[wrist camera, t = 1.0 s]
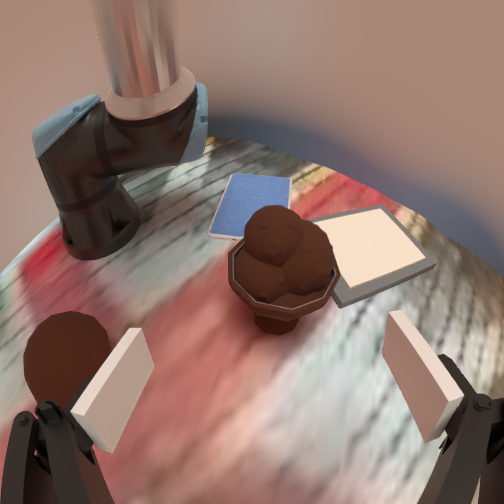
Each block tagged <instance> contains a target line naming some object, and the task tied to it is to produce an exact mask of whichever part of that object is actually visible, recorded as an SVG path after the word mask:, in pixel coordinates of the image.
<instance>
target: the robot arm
mask: <svg viewBox="0 0 504 504" xmlns="http://www.w3.org/2000/svg"><path fill="white" fill-rule="evenodd" d="M89 1H90V6H91V11H92V15H93V19H94V23H95V27H96V32H97V35H98V40H99V43H100V47H101V51H102V54H103V58H104V62H105V65H106V69H107V72H108V75H109V78H110V82H111V85H112V87H111V88H110V89H109V91H108V93H107V95H106V98H105V101H104V102H100V101H101V98H100V97H99V95H98V94H92V95H90V96H86V97H84V98H81V99H80V100H77V101H75V102H73V103H71V104H69V105H67V106H66V107H64V108H62V109H60V110H59V111H57V112H56V113H54V114H52V115H51V116H50V117H48V118H47V119H45V120H44V121H43V122H41V123H40V124H39V125H38V126H37V127H36V128H35V130H34V132H33V135H32V140H33V144H34V149H35V152H36V159H38V162H39V164H40V167H41V170H42V172H43V175H44V177H45V180H46V182H47V185H48V187H49V190H50V192H51V194H52V196H53V199H54V201H55V203H56V206H57V208H58V210H59V217H60V225H61V232H62V238H63V242H64V244H65V246H66V248H67V249H68V251H69V253H70V254H71V255H72V256H74V257H76V258H78V259H84V260H90V259H96V258H100V257H103V256H106V255H108V254H110V253H112V252H114V251H116V250H118V249H119V248H120V247H122V246H123V245H124V244H126V243H127V242H128V241H129V240H130V239H131V238H132V236H133V235H134V234H135V232H136V231H137V229H138V226H139V223H140V215H139V212H138V208H137V205H136V203H135V202H134V200H133V199H132V198H131V196H130V195H129V194H128V192H127V191H126V190H125V188H124V187H123V186H122V184H121V183H120V182H119V179H118V176H117V175H122V174H127V173H132V172H138V171H143V170H149V169H155V168H161V167H168V166H178V165H180V164H181V163H186V162H191V161H195V160H197V159H199V158H200V157H201V156H202V154H203V152H204V150H205V146H206V139H207V126H208V123H207V115H208V98H207V91H206V87H205V86H204V85H203V84H201V83H196V82H195V78H194V76H193V74H192V73H191V72H190V71H189V70H188V69H186V68H184V67H182V65H181V53H180V38H179V23H178V22H179V20H178V0H89ZM382 355H383V357H384V359H385V361H386V362H387V364H388V366H389V368H390V370H391V372H392V374H393V376H394V378H395V380H396V382H397V384H398V386H399V388H400V390H401V392H402V394H403V396H404V398H405V400H406V403H407V405H408V407H409V409H410V411H411V413H412V415H413V417H414V420H415V422H416V424H417V426H418V428H419V431H420V433H421V435H422V438H423V440H424V442H425V443H426V442H429V441H431V440H434V439H437V438H439V437H440V436H441V434H442V433H443V431H444V430H445V431H446V433H447V436H446V438H445V439H444V441H443V442H442V444H441V445H440V447H439V449H441V448H442V449H441V452H440V454H439V457H438V460H437V462H436V465H435V467H434V469H433V472H432V474H431V476H430V479H429V481H428V483H427V485H426V487H425V489H424V491H423V493H422V495H421V497H420V499H419V501H418V503H417V504H471V502H472V499H473V496H474V493H475V490H476V487H477V484H478V481H479V478H480V489H479V498H478V504H504V398H500V399H494V400H492V399H491V398H490V397H489V396H488V395H485V394H477V393H476V392H475V390H474V389H473V388H472V386H471V385H470V383H469V382H468V381H467V379H466V378H465V376H464V375H463V374H461V371H460V370H459V368H457V366H456V364H455V363H454V362H453V360H452V359H451V358H449V357H447V356H446V355H444V354H441V355H438V356H436V354H435V353H434V351H433V350H432V349H431V347H430V346H429V345H428V343H427V342H426V341H425V339H424V338H423V337H422V336H421V334H420V333H419V332H418V330H417V329H416V328H415V327H414V325H413V324H412V323H411V322H410V320H409V319H408V318H407V317H406V315H405V314H404V313H403V312H402V310H398V311H392V312H389V313H388V320H387V326H386V332H385V338H384V343H383V348H382ZM154 367H155V365H154V362H153V360H152V357H151V354H150V352H149V349H148V346H147V343H146V340H145V337H144V334H143V331H142V328H129V330H128V331H127V332H126V334H125V335H124V336H123V338H122V339H121V340H120V342H119V343H118V344H117V346H116V347H115V348H114V350H113V351H112V352H111V354H110V355H109V357H108V358H107V359H106V361H105V362H104V363H103V365H102V366H101V368H100V369H99V370H98V372H97V373H96V374H91V375H90V376H89V377H87V378H86V379H85V380H84V381H83V383H82V384H81V385H80V388H78V390H77V391H76V393H75V394H74V395H73V397H72V398H71V400H70V401H69V402H68V404H67V405H66V407H65V408H64V410H62V409H61V407H60V406H59V404H58V403H57V402H56V401H55V400H53V399H45V400H43V401H41V402H40V403H39V404H38V405H37V406H36V408H35V414H36V415H37V416H38V418H39V419H36V418H35V417H34V416H33V414H32V413H31V412H29V411H22V412H20V413H19V414H18V415H17V416H16V417H15V419H14V422H13V425H12V429H11V434H10V438H9V443H8V447H7V452H6V458H5V464H4V470H3V478H2V487H1V499H0V504H115V503H114V501H113V499H112V497H111V494H110V492H109V490H108V487H107V485H106V482H105V480H104V477H103V475H102V472H101V470H100V467H99V464H98V461H97V458H96V455H95V452H94V450H93V449H92V445H93V443H95V445H96V446H97V447H98V448H99V449H100V450H102V451H106V452H109V453H114V451H115V448H116V446H117V444H118V442H119V440H120V437H121V435H122V433H123V431H124V429H125V427H126V425H127V423H128V420H129V418H130V416H131V414H132V412H133V410H134V408H135V406H136V404H137V402H138V400H139V398H140V395H141V393H142V391H143V389H144V387H145V385H146V383H147V381H148V379H149V377H150V375H151V373H152V371H153V369H154ZM35 450H36V451H37V455H36V456H35V455H34V454H35ZM480 474H481V477H480Z"/></svg>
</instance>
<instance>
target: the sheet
mask: <svg viewBox="0 0 504 504" xmlns="http://www.w3.org/2000/svg"><path fill="white" fill-rule="evenodd" d="M314 224H316V225H318V226H319V227H320V228H321V229H322V230H323V231H324V232H326V233H327V236H328V238H329V241H330V244H331V245H332V246H333V252H334V255H335V259H336V262H337V265H338V267H339V270H340V273H341V276H340V277H341V278H342V280H343V281H344V283H345V284H346V286H347V287H348V289H349V290H350V289H352V288H355V287H358V286H361V285H363V284H366V283H368V282H371V281H374V280H376V279H379V278H381V277H384V276H386V275H389V274H391V273H394V272H396V271H399V270H401V269H404V268H406V267H408V266H411V265H413V264H416V263H418V262H420V261H423V260H425V258H426V257H425V256H424V255H423V254H422V253H421V251H420V250H419V249H418V248H417V247H416V246H415V245H414V243H413V242H412V241H411V240H410V239H409V238H408V237H407V236H406V235H405V233H404V232H403V231H402V230H401V229H400V228H399V227H398V226H397V225H396V224H395V223H394V222H393V221H392V220H391V219H390V218H389V216H388V215H387V214H386V213H385V212H384V211H383V210H382V209H381V208H380V209H375V210H371V211H366V212H361V213H356V214H352V215H347V216H342V217H337V218H333V219H328V220H324V221H319V222H314Z"/></svg>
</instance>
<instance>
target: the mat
mask: <svg viewBox="0 0 504 504" xmlns="http://www.w3.org/2000/svg"><path fill="white" fill-rule="evenodd" d="M380 208H381V209H382V210H383V211H384V212H385V213H386V214H387V215H388V216H389V218H390V219H391V220H392V221H393V222H394V223H395V224H396V225H397V226H398V227H399V228H400V229H401V230H402V231H403V232H404V233H405V235H406V236H407V237H408V238H409V239H410V240H411V241H412V242H413V243H414V245H415V246H416V247H417V248H418V249H419V250H420V251H421V253H422V254H423V255H424V256H425V257H426V258H425V260H423V261H420V262H418V263H416V264H413V265H411V266H408V267H406V268H404V269H401V270H399V271H396V272H394V273H391V274H389V275H386V276H384V277H381V278H379V279H376V280H374V281H371V282H368V283H366V284H363V285H361V286H358V287H355V288H352V289H350V290H349V289H348V287H347V286H346V284H345V283H344V281H343V280H342V278H341V277H340V278H339V280H338V282H337V284H336V286H335V288H334V290H333V292H332V294H331V295H332V297H333V298H334V300H335V302H336V303H337V305H338V307H339V308H342V307H345V306H347V305H350V304H353V303H355V302H358V301H360V300H363V299H365V298H367V297H370V296H372V295H375V294H377V293H379V292H382V291H384V290H386V289H389V288H391V287H393V286H396V285H398V284H400V283H402V282H405V281H407V280H409V279H411V278H413V277H415V276H418V275H420V274H422V273H424V272H426V271H428V270H430V269H432V268H434V266H435V265H436V262H435V260H434V259H433V258H432V257H431V256H430V255H429V253H428V252H427V251H426V250H425V249H424V248H423V247H422V245H421V244H420V243H419V242H418V241H417V240H416V239H415V238H414V237H413V235H412V234H411V233H410V232H409V231H408V230H407V229H406V228H405V227H404V226H403V225H402V224H401V223H400V222H399V221H398V219H397V218H396V217H395V216H394V215H393V214H392V213H391V212H390V211H389V210H388V209H387V208H386V207H385V206H384V205H383V204H382V205H376V206H371V207H366V208H361V209H356V210H351V211H347V212H342V213H337V214H332V215H327V216H322V217H318V218H313V219H308V221H311V222H312V223H314V222H319V221H324V220H328V219H333V218H337V217H342V216H347V215H352V214H356V213H361V212H366V211H371V210H375V209H380Z"/></svg>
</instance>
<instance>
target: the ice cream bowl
mask: <svg viewBox="0 0 504 504" xmlns="http://www.w3.org/2000/svg"><path fill="white" fill-rule="evenodd" d="M340 276H341V273H340V270H339V267H338V265H337V262H336V259H335V255H334V252H333V246H332V245H331V244H330V241H329V238H328V236H327V233H326V232H324V231H323V230H322V229H321V228H320V227H319V226H318V225H316V224H314V223H312V222H311V221H308V220H302V219H301V218H300V216H299V215H298V214H296V213H295V212H294V211H292V210H290V209H288V208H286V207H284V206H282V205H268V206H264V207H262V208H260V209H259V210H257V211H255V212H254V214H253V215H252V216H251V218H250V219H249V221H248V222H247V223H246V225H245V229H244V237H243V238H242V240H241V241H240V242H239V243H238V244H237V245H236V246H235V247H234V248H233V249H232V250H231V251H230V252H229V253H228V281H229V283H230V286H231V288H232V290H233V291H234V292H235V293H236V294H237V295H238V296H239V297H240V298H241V299H242V300H243V301H244V302H245V303H246V304H247V305H248V306H249V307H250V308H251V309H252V310H253V312H254V313H255V323H256V324H257V325H258V326H259V327H260V328H261V329H262V330H263V331H264V332H266V333H270V334H275V335H282V334H284V333H287V332H289V331H292V330H293V329H294V327H295V325H296V324H297V322H298V320H299V317H301V316H304V315H306V314H309V313H311V312H314V311H316V310H318V309H320V308H322V307H323V306H324V305H325V304H326V302H327V301H328V299H329V297H330V296H331V294H332V292H333V290H334V288H335V286H336V284H337V282H338V280H339V278H340Z"/></svg>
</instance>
